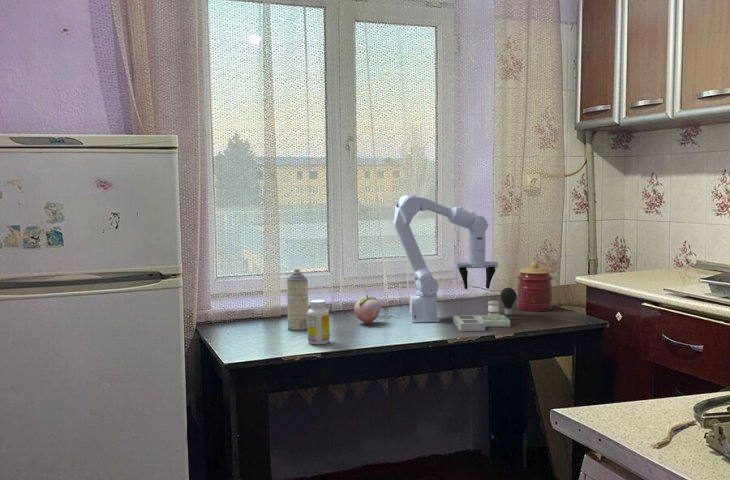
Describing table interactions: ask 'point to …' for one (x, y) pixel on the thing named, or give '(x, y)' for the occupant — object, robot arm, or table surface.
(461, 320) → the gray rectangular frame
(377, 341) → the table surface
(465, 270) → the robot arm
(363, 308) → the decorative fruit
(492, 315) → the fuse
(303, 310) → the aerosol can
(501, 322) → the parts tray
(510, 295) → the light bulb
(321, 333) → the supplement bottle
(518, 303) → the canister
